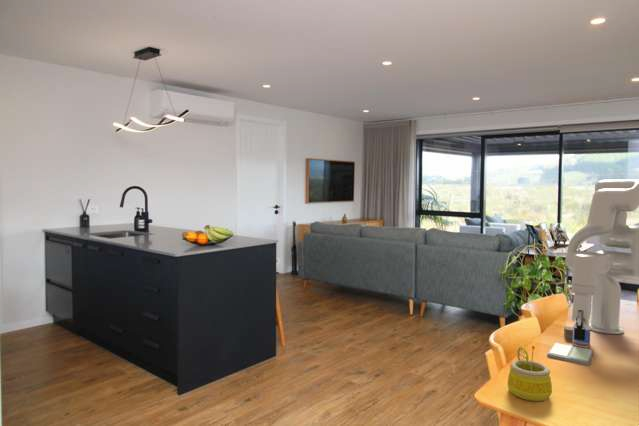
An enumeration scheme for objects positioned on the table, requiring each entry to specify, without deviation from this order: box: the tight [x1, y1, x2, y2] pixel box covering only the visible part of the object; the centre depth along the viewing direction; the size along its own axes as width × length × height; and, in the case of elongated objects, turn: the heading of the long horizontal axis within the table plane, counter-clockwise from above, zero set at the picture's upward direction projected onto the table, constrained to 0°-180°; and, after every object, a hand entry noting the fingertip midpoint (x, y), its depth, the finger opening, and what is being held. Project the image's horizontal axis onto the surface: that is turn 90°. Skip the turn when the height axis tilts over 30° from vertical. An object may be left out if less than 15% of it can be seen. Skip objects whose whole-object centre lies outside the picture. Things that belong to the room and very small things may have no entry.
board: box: [546, 342, 595, 366], centre depth 155 cm, size 14×12×1 cm
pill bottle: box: [572, 319, 591, 349], centre depth 164 cm, size 6×5×10 cm
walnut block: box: [563, 325, 573, 341], centre depth 172 cm, size 4×4×4 cm
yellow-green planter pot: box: [507, 345, 553, 402], centre depth 125 cm, size 13×11×12 cm
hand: (581, 336), depth 164 cm, fingers open, 9 cm apart
